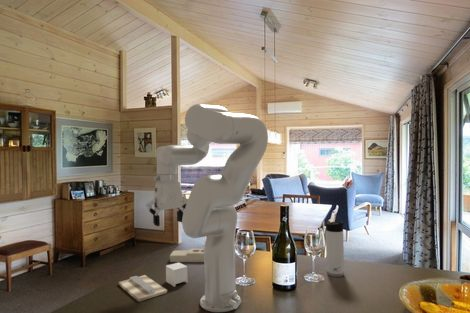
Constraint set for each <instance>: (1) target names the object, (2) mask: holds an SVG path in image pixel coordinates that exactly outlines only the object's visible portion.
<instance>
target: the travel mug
mask: <svg viewBox="0 0 470 313" xmlns="http://www.w3.org/2000/svg"><path fill="white" fill-rule="evenodd" d="M325 244H326V245H325V249H326V253H325V255H326V256H325V258H326V274H327V275H328V276H331V277H332V278H333V277H335V278H336V277H337V278H341V277H343V276H344V275H345V264H344V263H345V262H344V261H345V260H344V259H345V258H344V257H345V256H344V254H345V253H344V250H345V249H344V222H343V221H331V222H327V223H325Z"/></svg>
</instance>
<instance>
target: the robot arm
mask: <svg viewBox="0 0 470 313" xmlns="http://www.w3.org/2000/svg"><path fill="white" fill-rule="evenodd" d="M184 116H185V117H184V125H185V126H186V128H187V130H186V138H187V142H189V143H190V144H169V145H165V146H158V147H157V148H156V175H155V176H153V180H154V181H156V183H155V186H154V196H153V199H151V200H149V202H147V203H145V206H146V209H147V210H148V212H149V213H150V214H151V215H152V217H153V218H152V221H153V222H152V223H153V225H154V226H156V227H160V225H161V224H160V223H161V222H160V215H159V214H160V212H161V211H165V210H167V211H168V210H173V209H177V212H176V221H177V222H179V223H181V225H182V229H183V232H184V234H185V235H186V236H187V237H189V238H191V239H198V238H199V239H200V238H204V237H205V238H206V239H205V241H204V246H203V249H204V262H203V263H204V265H203V266H204V294H203V295H202V296H201V298H200V300H199V302H200V303H199V305H200V307H201V308H202V309H203V310H205V311H208V312H211V313H225V312H230V311H234V310H237V309H239V308H238V307H239V306H241V303H243V302H242V299H241V296H239V294H238V291H237V290H236V257H235V254H236V247H235V246H236V245H235V244H236V242H235V240H236V229H237V224H238V211H237V209H236V208H235V205H238V204H239V203H240V202H241V201H242V199H243V198H244V196H245V194H246V191H247V188H248V187H249V184H250V183H251V180H252V178H253V176H254V173H255V171H256V169H257V167H258V165H259V164H260V162H261V160H262V159H263V156H264V155H265V152H266V150H267V146H268V144H269V143H268V142H269V134H268V129H267V127H266V124H265V122H264V121H263V120H262V119H261V118H259V117H258V116H256V115H252V114H248V113H233V112H230V111H229V110H228V109H227V108H225V107H224V106H220V105H214V104H203V103H196V104H192V105H191V106H190V107H189V108H188V109H187V111H186V112H185V115H184ZM211 143H214V144H221V145H223V144H224V145H225V144H227V145H238V147H237V148H236V149H235V150H233V152H232V153H231V154H230V155H229V157H228V158H227V160H226V162H225V165H224V167H223V168H222V170H221V172H219V173H216V174H207V175H204V176H201V177H199V178H198V179H197V180H196V181H195V183H194V184H193V185H192V188H191V191H190V194H189V196H188V198H186V197H184V196H183V194H182V193H183V192H182V186H181V183H180V181H178V166H193V165H196V164H198V163H200V162H201V161H202V160H203V159H205V158H206V157H207V156H208V153H209V149H210V144H211ZM153 205H154V209H153V207H152V206H153Z"/></svg>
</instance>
